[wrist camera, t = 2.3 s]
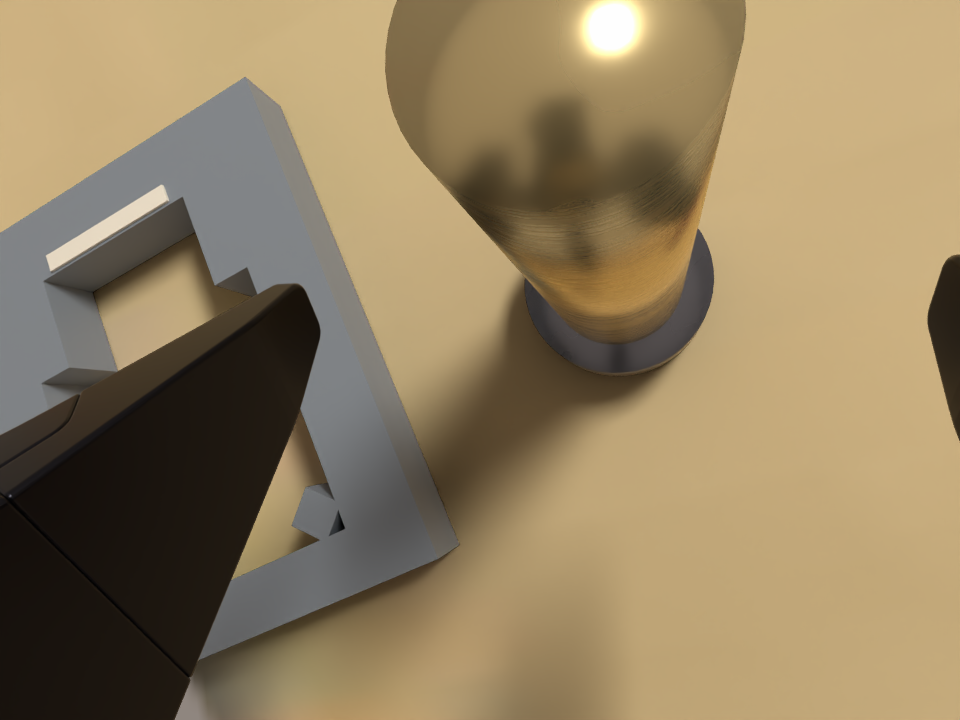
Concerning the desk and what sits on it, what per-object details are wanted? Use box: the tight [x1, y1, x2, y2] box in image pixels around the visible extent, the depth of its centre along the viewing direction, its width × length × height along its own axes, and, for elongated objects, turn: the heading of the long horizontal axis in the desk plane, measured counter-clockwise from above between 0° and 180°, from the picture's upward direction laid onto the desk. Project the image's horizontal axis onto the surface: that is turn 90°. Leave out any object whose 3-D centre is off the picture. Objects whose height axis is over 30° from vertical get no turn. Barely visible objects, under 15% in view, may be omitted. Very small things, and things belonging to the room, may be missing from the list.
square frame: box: [0, 77, 459, 660], centre depth 21 cm, size 16×13×2 cm
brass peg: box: [385, 0, 746, 376], centre depth 12 cm, size 5×5×13 cm
